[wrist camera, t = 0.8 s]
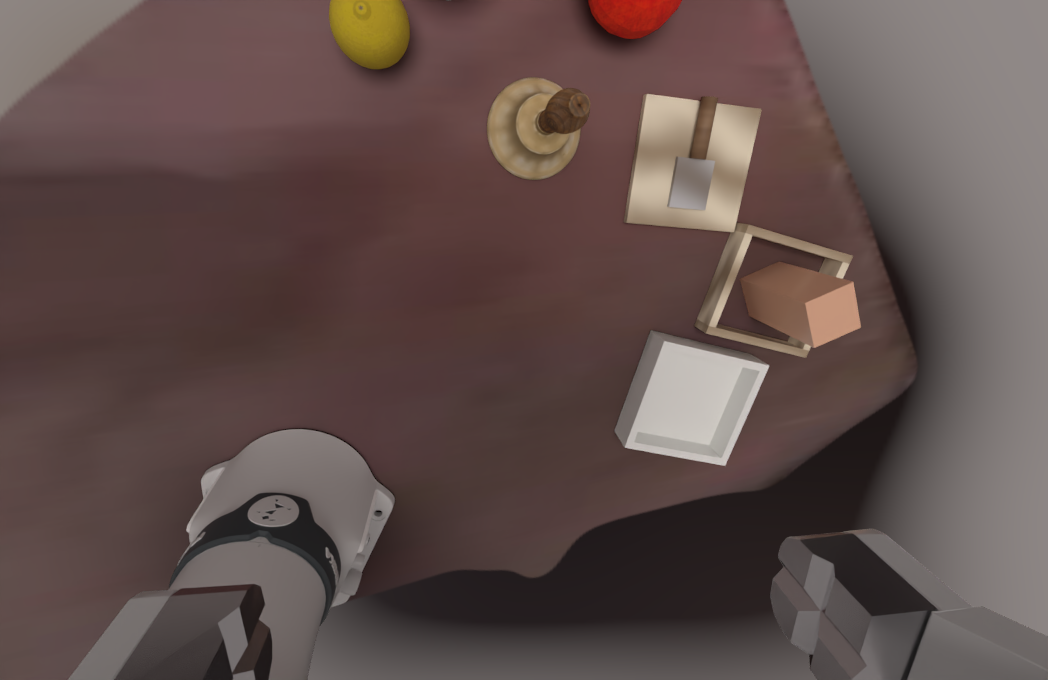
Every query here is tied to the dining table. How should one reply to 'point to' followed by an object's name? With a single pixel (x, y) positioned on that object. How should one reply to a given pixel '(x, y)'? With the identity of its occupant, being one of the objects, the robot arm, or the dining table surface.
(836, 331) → the terracotta brick
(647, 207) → the lid with scoop
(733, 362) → the white square tray
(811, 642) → the robot arm
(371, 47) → the lemon
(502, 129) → the hand bell
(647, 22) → the apple
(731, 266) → the birch bin
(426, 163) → the dining table surface
